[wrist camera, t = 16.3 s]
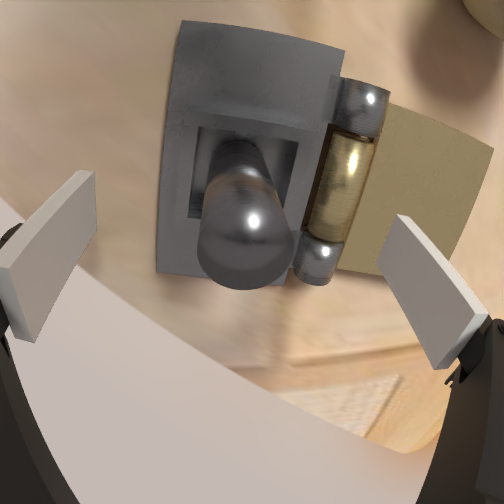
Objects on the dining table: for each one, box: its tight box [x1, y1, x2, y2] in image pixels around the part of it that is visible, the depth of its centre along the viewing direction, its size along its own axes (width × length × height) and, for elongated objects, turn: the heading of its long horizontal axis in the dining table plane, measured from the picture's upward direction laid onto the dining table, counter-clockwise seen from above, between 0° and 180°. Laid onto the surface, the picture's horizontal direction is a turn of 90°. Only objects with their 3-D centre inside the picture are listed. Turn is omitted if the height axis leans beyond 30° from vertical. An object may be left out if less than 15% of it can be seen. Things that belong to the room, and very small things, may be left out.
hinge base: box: [157, 20, 391, 286], centre depth 20 cm, size 18×13×4 cm
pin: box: [197, 141, 294, 290], centre depth 16 cm, size 4×4×10 cm
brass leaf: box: [308, 103, 494, 276], centre depth 21 cm, size 13×13×3 cm
